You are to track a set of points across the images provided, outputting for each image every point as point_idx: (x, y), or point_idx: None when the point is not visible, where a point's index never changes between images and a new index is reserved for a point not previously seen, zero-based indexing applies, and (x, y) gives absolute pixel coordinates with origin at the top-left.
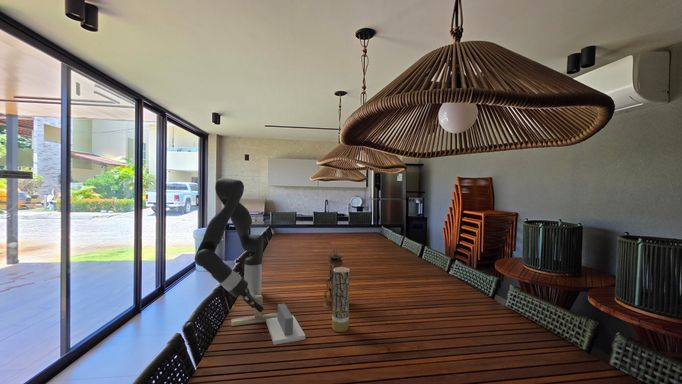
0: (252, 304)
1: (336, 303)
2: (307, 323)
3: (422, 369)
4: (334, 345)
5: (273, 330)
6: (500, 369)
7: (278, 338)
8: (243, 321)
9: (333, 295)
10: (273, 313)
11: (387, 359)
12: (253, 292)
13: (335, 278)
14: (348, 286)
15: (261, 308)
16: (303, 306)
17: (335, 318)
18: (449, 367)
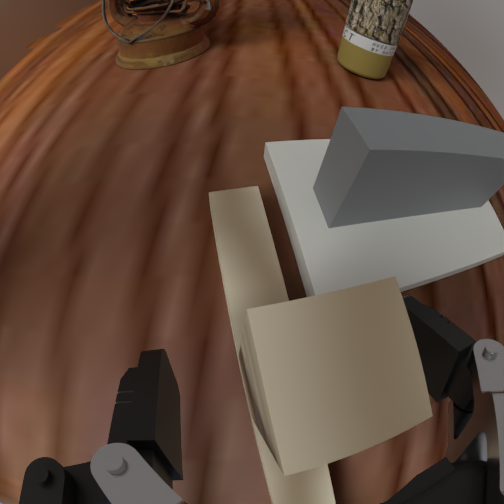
0: (465, 419)
1: (409, 7)
2: (326, 117)
3: (454, 64)
4: (447, 109)
5: (458, 251)
6: (421, 30)
7: (498, 231)
8: (328, 480)
9: None
10: (223, 253)
11: (451, 75)
12: (39, 478)
13: None
14: None
15: (436, 313)
16: (116, 118)
17: (394, 47)
18: (437, 47)
